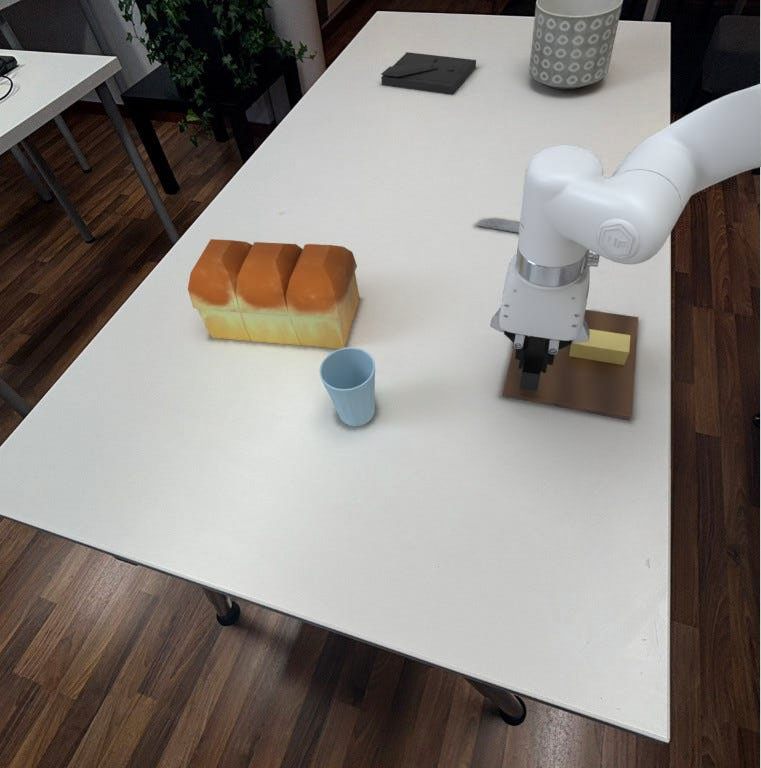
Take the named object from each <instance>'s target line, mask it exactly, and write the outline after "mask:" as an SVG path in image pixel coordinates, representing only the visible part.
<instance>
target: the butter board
mask: <svg viewBox="0 0 761 768" xmlns="http://www.w3.org/2000/svg"><path fill="white" fill-rule="evenodd" d="M584 318H585V321H586V323H587V326H588V328H589V329H592V330H599V331H605V332H612V333H618V334H625V335H630V348H629V354H628V357H627V359H626V362H625V365H620V364H614V363H608V362H602V361H595V360H589V359H583V358H577V357H571V356H569V354H570V348H571V345H569V346H567V347H564V348H562V349H560V350H558V353H557V354H555V356H554V361H553V365H547V369H546V373H542V371H541V375H540V380H539V385H538V390H537V392H536V391H530V390H525V389H519V387H520V379H521V372H522V369H518V368H519V361H520V360H517V359H515V354H516V348H515V347H514V346H513V347H512V352H511V356H510V360H509V364H508V368H507V372H506V377H505V382H504V384H503V385H504V386H503V389H502V397H504V398H509V399H515V400H519V401H526V402H530V403H535V404H540V405H546V406H551V407H557V408H562V409H567V410H572V411H577V412H582V413H588V414H593V415H599V416H604V417H610V418H613V419H619V420H625V421H631V419H632V415H633V401H634V400H633V399H634V386H635V371H636V357H637V356H636V354H637V340H638V339H637V338H638V324H639V317H638V316H633V315H627V314H626V315H625V314H619V313H612V312H606V311H599V310H592V309H586V310H585V315H584ZM547 339H548V338H547Z"/></svg>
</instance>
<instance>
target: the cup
mask: <svg viewBox="0 0 761 768" xmlns="http://www.w3.org/2000/svg"><path fill="white" fill-rule="evenodd" d="M319 377H320V379H321V381H322V384H323V386H324V388H325V390H326V391H327V393H328V396H329V398H330V400H331V402H332V404H333V407H334V408H335V410H336V413H337V414H338V417H339V418H340V420H341V422H343V423H344V424H346V425H347V426H350V427H361V426H364V425H366V424H367V423H369V422H370V421H371V420H372V419H373V417H374V415H375V413H376V412H375V411H376V383H375V382H376V363H375V360H374V358H373V356H372V355H371V354H370V353H369V352H368V351H366V350H364V349H362V348H358V347H350V346H349V347H345V348H342V349H336V350H334V351H331V353H329V354H328V355H326V357H324V358H323V360H322V362H321V363H320V366H319Z"/></svg>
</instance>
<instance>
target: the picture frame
mask: <svg viewBox="0 0 761 768" xmlns="http://www.w3.org/2000/svg"><path fill="white" fill-rule="evenodd" d="M476 69H477V59H473V58H472V59H470V58H463V57H455V56H446V55H445V56H444V55H436V54H428V53H427V54H426V53H419V52H408V51H406V52H405V53H404V54H403V55H402V56H401V57H400V58H399V60H397V61H396V62H395V63H394V64H393V65H392V66H388V68H386V69H385V70H383V72H381V73H380V75H381V79H380V80H381V85H382V86H387V87H395V88H402V89H409V90H416V91H422V92H423V91H424V92H431V93H437V94H445V95H454V94H455V93H456V92H457V91H458V89H459V88H460V87H461V86H462V85H463V84H464V82H465V81H467V79H468V78H469V77H470V76H471V75H472V73H473V72H474V71H475V70H476Z"/></svg>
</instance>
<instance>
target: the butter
mask: <svg viewBox="0 0 761 768" xmlns="http://www.w3.org/2000/svg"><path fill="white" fill-rule="evenodd" d="M589 331H590V338H589V341H587V342H581V343H572V344H571V348H570V354H569V356H571V357H577V358H583V359H589V360H595V361H602V362H608V363H614V364H620V365H625V362H626V359H627V357H628V354H629V348H630V335H625V334H618V333H612V332H605V331H599V330H592V329H589Z"/></svg>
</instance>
